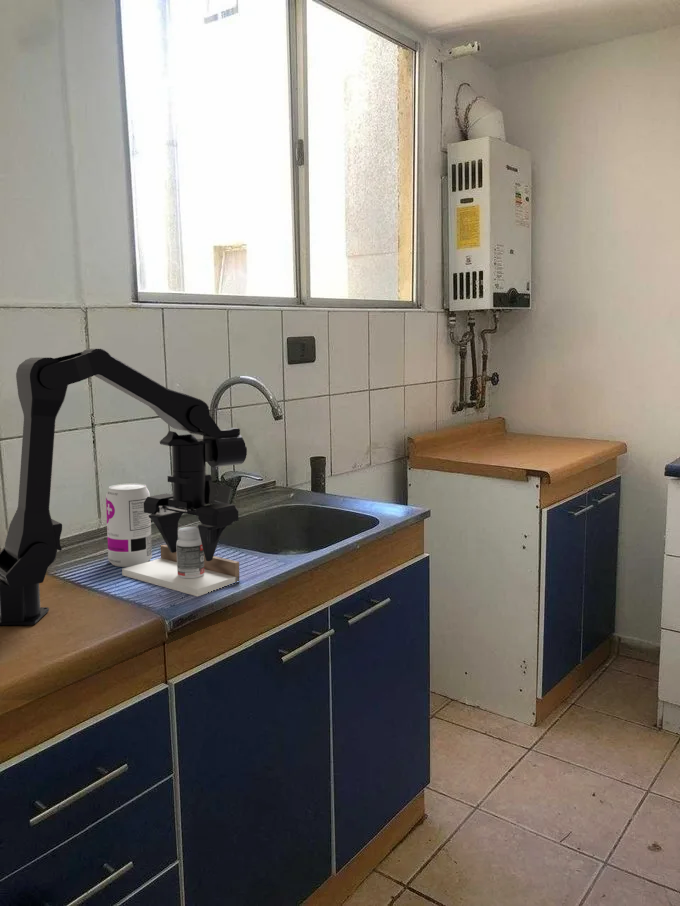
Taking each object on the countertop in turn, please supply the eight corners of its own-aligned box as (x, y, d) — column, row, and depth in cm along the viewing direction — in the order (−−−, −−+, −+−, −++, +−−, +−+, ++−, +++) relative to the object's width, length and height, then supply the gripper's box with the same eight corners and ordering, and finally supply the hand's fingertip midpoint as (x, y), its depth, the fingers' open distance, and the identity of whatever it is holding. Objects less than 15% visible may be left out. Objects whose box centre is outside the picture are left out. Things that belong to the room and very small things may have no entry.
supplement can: (107, 569, 137) (104, 491, 135) (109, 557, 145) (106, 483, 143) (152, 566, 139) (149, 489, 137) (151, 555, 147) (149, 482, 145)
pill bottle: (206, 577, 128) (205, 530, 127) (179, 580, 127) (178, 533, 126) (201, 570, 133) (200, 525, 132) (175, 572, 131) (173, 527, 130)
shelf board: (239, 582, 130) (239, 561, 129) (197, 596, 122) (197, 575, 121) (165, 563, 142) (164, 544, 141) (122, 575, 134) (121, 555, 133)
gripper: (259, 469, 128) (260, 555, 130) (187, 460, 139) (189, 539, 141) (213, 477, 119) (215, 569, 121) (140, 466, 130) (143, 551, 132)
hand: (191, 556), depth 129 cm, fingers open, 9 cm apart
